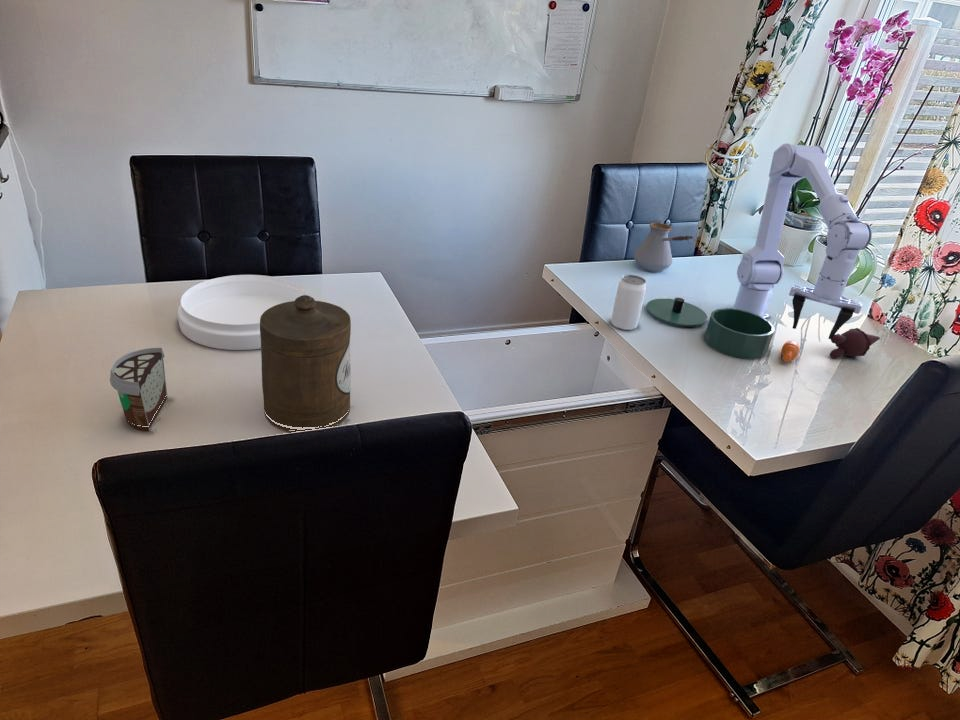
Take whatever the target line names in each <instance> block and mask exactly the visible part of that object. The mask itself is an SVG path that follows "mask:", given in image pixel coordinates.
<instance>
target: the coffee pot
mask: <svg viewBox="0 0 960 720" xmlns="http://www.w3.org/2000/svg"><path fill="white" fill-rule="evenodd" d="M649 228H650V231H649V233H648V234H647V235H646V236H645V238H644V239H643V241H642V242H641V244H640V245H639V246H638V248H637V249H636V250H635V252H634V253H633V260H634V261H635V263H636V264H637V266H638V268H640V269H642V270H644V271H646V272H652V273H661V272H664V270H666V269H669V268H670V267H671V265H672V264H673V255H672V249H671V245H670V241H675V242H677V241H678V242H679V241H681V242H682V241H687V243H688V244H690V245H694V243H695V242H696V238H694V237H693V236H691V235H681V236H680V235H679V236H674V237H669V233H670V231H672V226H670V225H669V224H666V223H662V222H650V223H649ZM692 239H693V242H691V243H690V242H689V240H692Z"/></svg>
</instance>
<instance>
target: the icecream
mask: <svg viewBox="0 0 960 720" xmlns="http://www.w3.org/2000/svg"><path fill="white" fill-rule="evenodd" d="M880 339H881V337H880V336H877V335H873V334H870V333H866V332H864V331H863V330H861V329H860V328H858V327H856V328H850V329H849V330H846V331H845V332H843V333H841V334H840V333H835V335H834V336H833V338H832V339H830V342H831V343H832V344H835V346H836V347H837V348H834V349H832V350H831V351H830V353H829V357H830V358H832V359H838V358H840V357H842V356H843V355H846V356H849V357H853V358H854V357H864V356H865V355H866V354H867V352H869V350H870V348H871V346H872V345H874V344H875V343H876V342H878V341H879V340H880Z"/></svg>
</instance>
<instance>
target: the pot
mask: <svg viewBox="0 0 960 720" xmlns="http://www.w3.org/2000/svg"><path fill="white" fill-rule="evenodd" d="M774 334H775V326H774V324H773V323H772V322H771V321H770V320H768V319H767V318H763V317H761V316H759V315H756V314H754V313H751V312H747V311H743V310H739V309H733V308H730V307H729V308H728V307H726V308H717V309H715V310H713V311H711V314H710V316H709V320H708V322H707V326H706V330H705V333H704V341H705V343H706V344H707V345H708V346H710V347H711V348H713V350H715V351H717V352H719V353H722V354H723V355H727V356H729V357H734V358H739V359H744V360H746V359H747V360H757V359H760V358H763V357H764V356H765V355H766V354H767V353H768V351H769V348H770V344H771V342H772V339H773V337H774Z"/></svg>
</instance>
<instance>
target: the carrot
mask: <svg viewBox="0 0 960 720" xmlns="http://www.w3.org/2000/svg"><path fill="white" fill-rule="evenodd" d="M799 352H800V345H799V344H798V342H797V341H795V340H787V341H786V342H785V343H783V345H782V348H781V350H780V355H781V356H782V357H781V358H782V360H783V361H784V362H786V363H789V362H791V361H792V360H794V359H796V358H797V357H798V355H799Z"/></svg>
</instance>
